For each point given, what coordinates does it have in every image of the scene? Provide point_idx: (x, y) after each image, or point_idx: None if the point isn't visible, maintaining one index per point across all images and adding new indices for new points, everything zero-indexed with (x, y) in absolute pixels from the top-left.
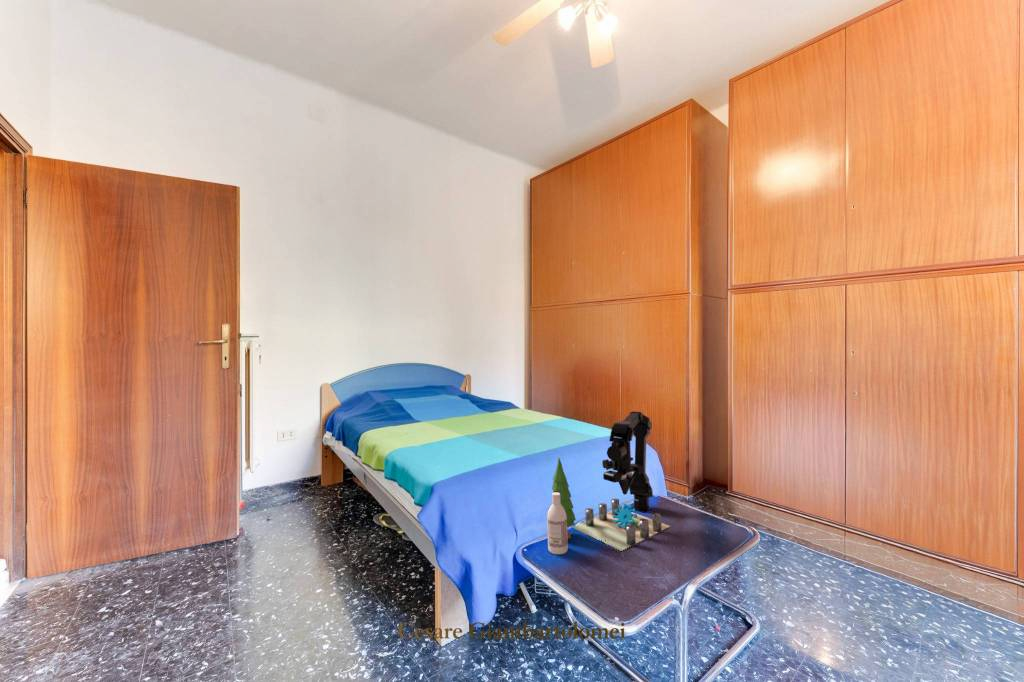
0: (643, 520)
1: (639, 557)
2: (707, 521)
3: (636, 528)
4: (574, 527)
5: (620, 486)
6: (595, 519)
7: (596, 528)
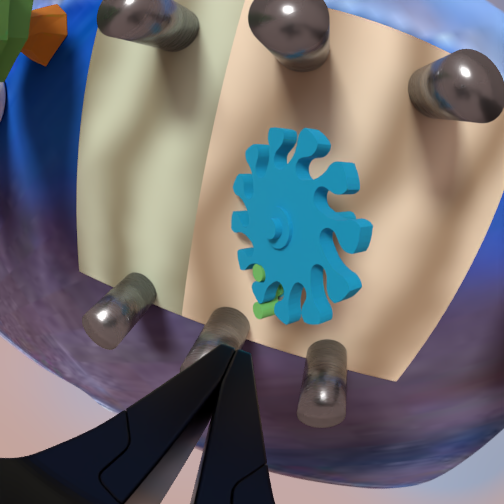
0: None
1: None
2: (472, 433)
3: None
4: None
5: (131, 408)
6: None
7: (158, 83)
